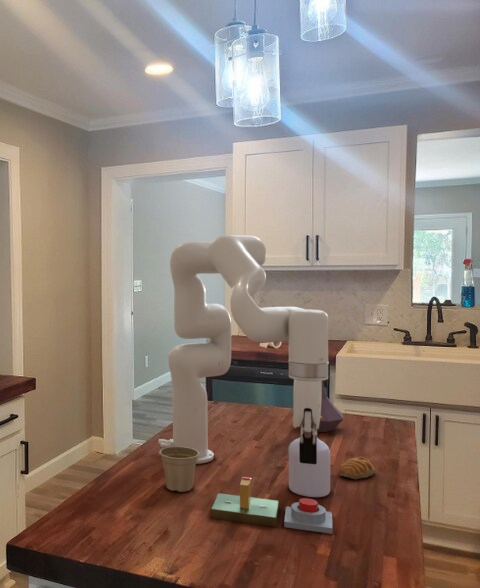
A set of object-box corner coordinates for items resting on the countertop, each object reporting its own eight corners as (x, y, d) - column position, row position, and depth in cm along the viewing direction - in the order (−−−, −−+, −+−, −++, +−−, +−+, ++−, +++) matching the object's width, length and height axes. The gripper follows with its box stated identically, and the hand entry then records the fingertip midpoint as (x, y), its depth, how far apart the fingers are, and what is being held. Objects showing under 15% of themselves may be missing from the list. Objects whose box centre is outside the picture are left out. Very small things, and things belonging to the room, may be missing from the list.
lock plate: (211, 518, 121) (211, 507, 121) (218, 501, 130) (217, 492, 130) (276, 527, 117) (276, 516, 116) (278, 509, 125) (278, 499, 125)
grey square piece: (284, 527, 116) (284, 512, 116) (286, 511, 124) (286, 497, 124) (332, 534, 113) (332, 519, 113) (331, 517, 121) (331, 503, 120)
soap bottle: (311, 501, 129) (311, 392, 128) (280, 487, 137) (280, 385, 136) (338, 493, 133) (339, 387, 132) (307, 480, 141) (307, 381, 140)
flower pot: (175, 477, 145) (175, 443, 145) (207, 487, 138) (206, 451, 138) (151, 487, 139) (151, 452, 138) (183, 498, 132) (183, 461, 131)
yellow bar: (248, 509, 121) (248, 484, 120) (239, 507, 121) (239, 483, 121) (251, 500, 125) (250, 477, 125) (242, 499, 125) (242, 476, 125)
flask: (303, 418, 199) (303, 361, 198) (353, 427, 188) (353, 366, 187) (282, 428, 187) (281, 367, 186) (333, 438, 176) (333, 373, 175)
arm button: (298, 512, 117) (298, 503, 117) (299, 505, 121) (299, 497, 121) (317, 514, 116) (317, 506, 116) (317, 507, 119) (317, 499, 119)
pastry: (358, 483, 139) (358, 467, 139) (331, 476, 145) (331, 460, 144) (376, 474, 145) (376, 459, 145) (350, 467, 150) (350, 452, 150)
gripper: (290, 363, 127) (290, 444, 127) (286, 377, 111) (286, 470, 111) (327, 364, 124) (327, 447, 125) (329, 379, 108) (329, 474, 109)
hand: (308, 457), depth 118 cm, fingers open, 5 cm apart
